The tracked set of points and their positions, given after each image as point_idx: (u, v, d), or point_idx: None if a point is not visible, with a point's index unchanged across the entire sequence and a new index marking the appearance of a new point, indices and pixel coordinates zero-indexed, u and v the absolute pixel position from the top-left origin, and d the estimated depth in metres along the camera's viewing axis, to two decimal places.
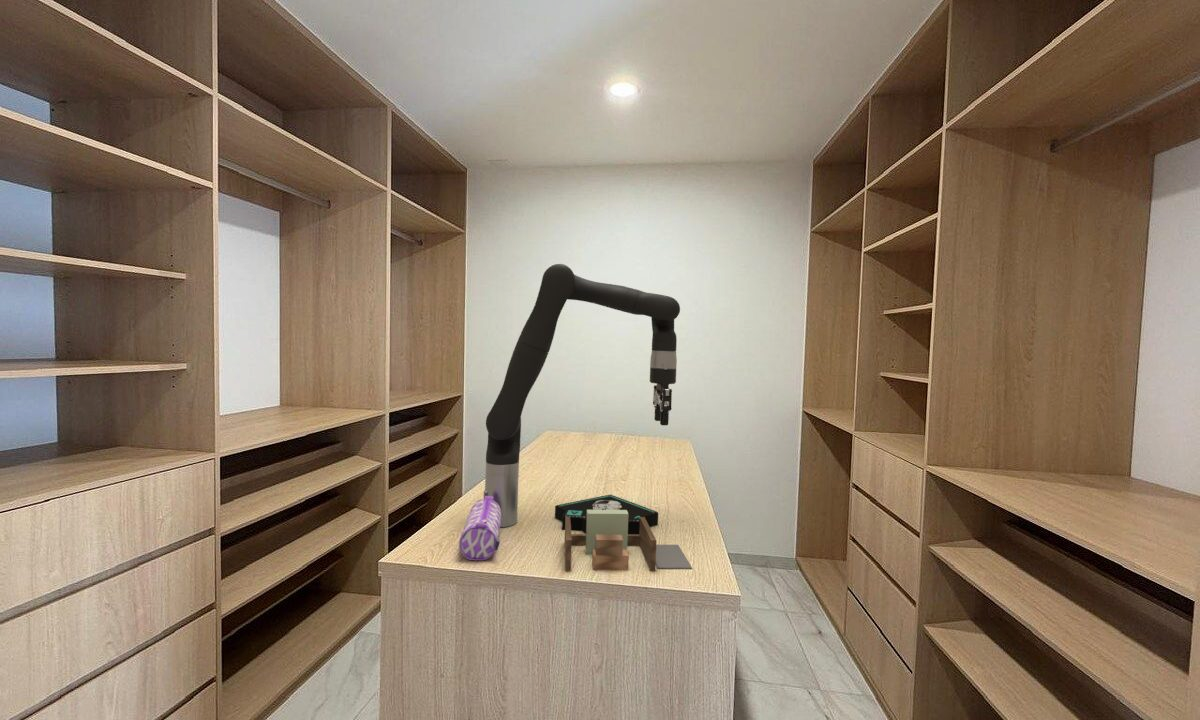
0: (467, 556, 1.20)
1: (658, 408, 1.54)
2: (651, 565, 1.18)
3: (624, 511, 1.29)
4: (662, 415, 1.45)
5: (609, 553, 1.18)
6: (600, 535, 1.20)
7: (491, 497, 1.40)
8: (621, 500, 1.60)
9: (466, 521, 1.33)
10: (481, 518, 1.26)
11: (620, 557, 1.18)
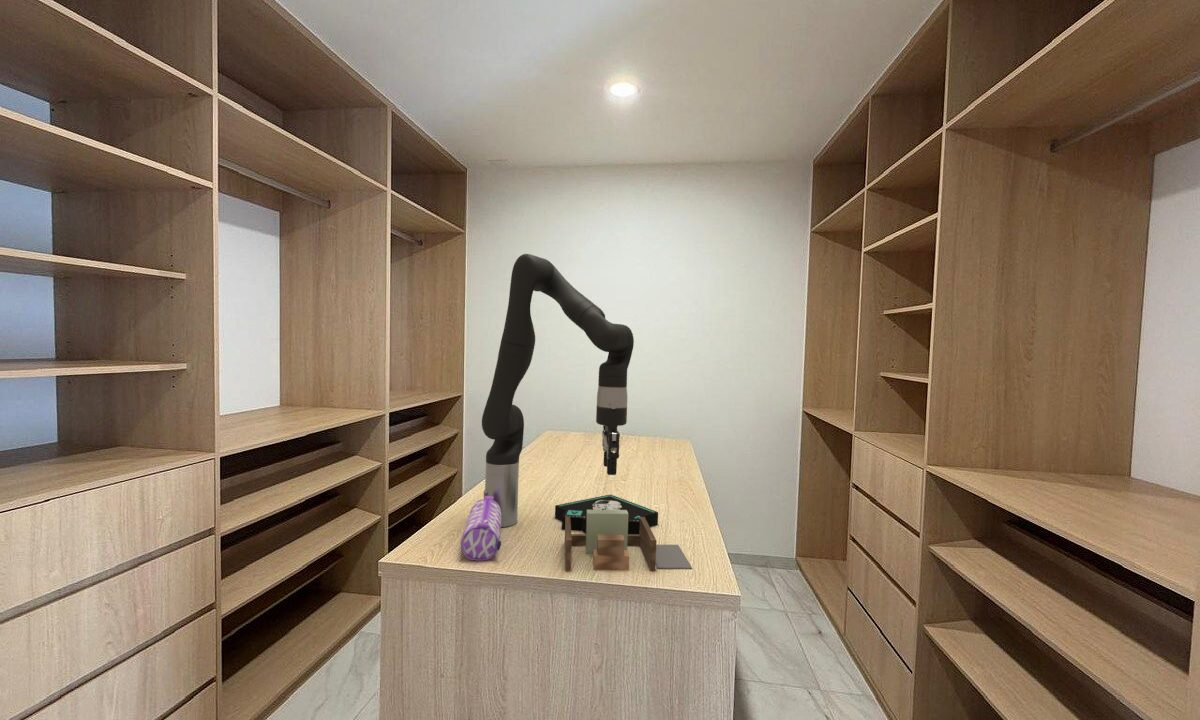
0: (469, 556, 1.20)
1: (607, 452, 1.32)
2: (651, 565, 1.18)
3: (624, 511, 1.29)
4: (609, 463, 1.23)
5: (611, 553, 1.18)
6: (602, 535, 1.20)
7: (491, 497, 1.40)
8: (621, 500, 1.60)
9: None
10: (482, 518, 1.26)
11: (621, 557, 1.18)
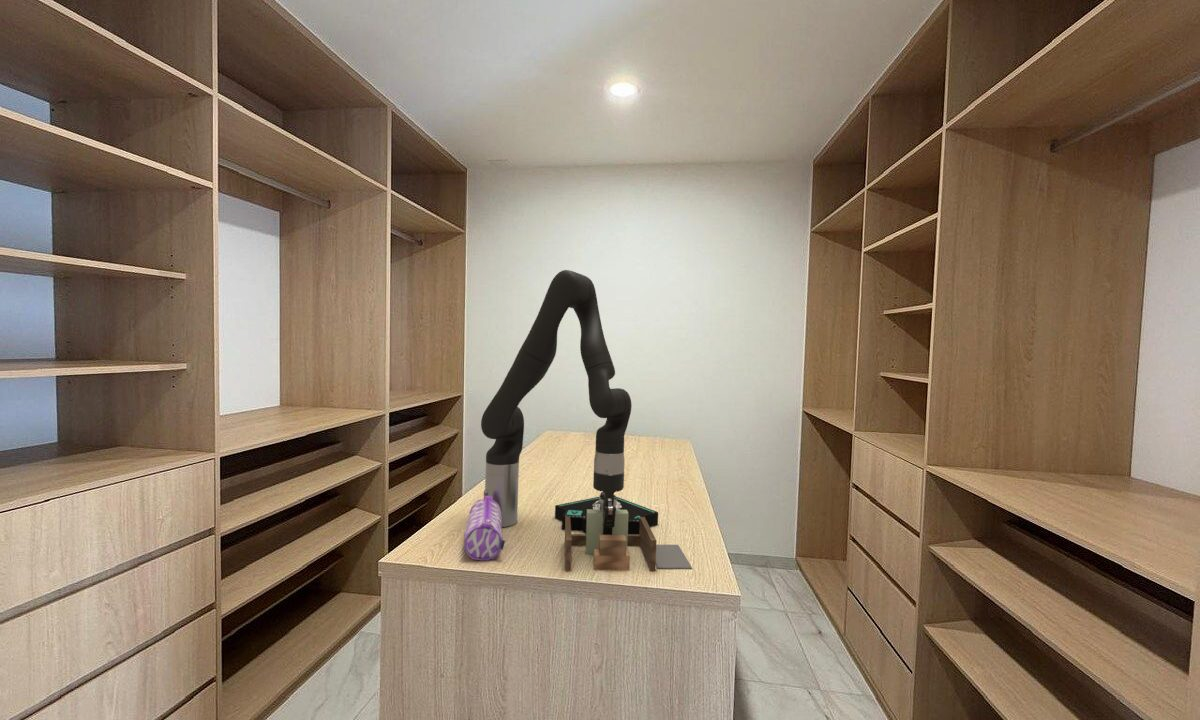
0: (472, 556, 1.20)
1: None
2: (651, 565, 1.18)
3: (624, 511, 1.29)
4: (605, 531, 1.26)
5: (613, 553, 1.18)
6: (604, 535, 1.20)
7: (490, 497, 1.40)
8: (621, 500, 1.60)
9: (467, 521, 1.33)
10: (484, 518, 1.26)
11: (621, 557, 1.18)
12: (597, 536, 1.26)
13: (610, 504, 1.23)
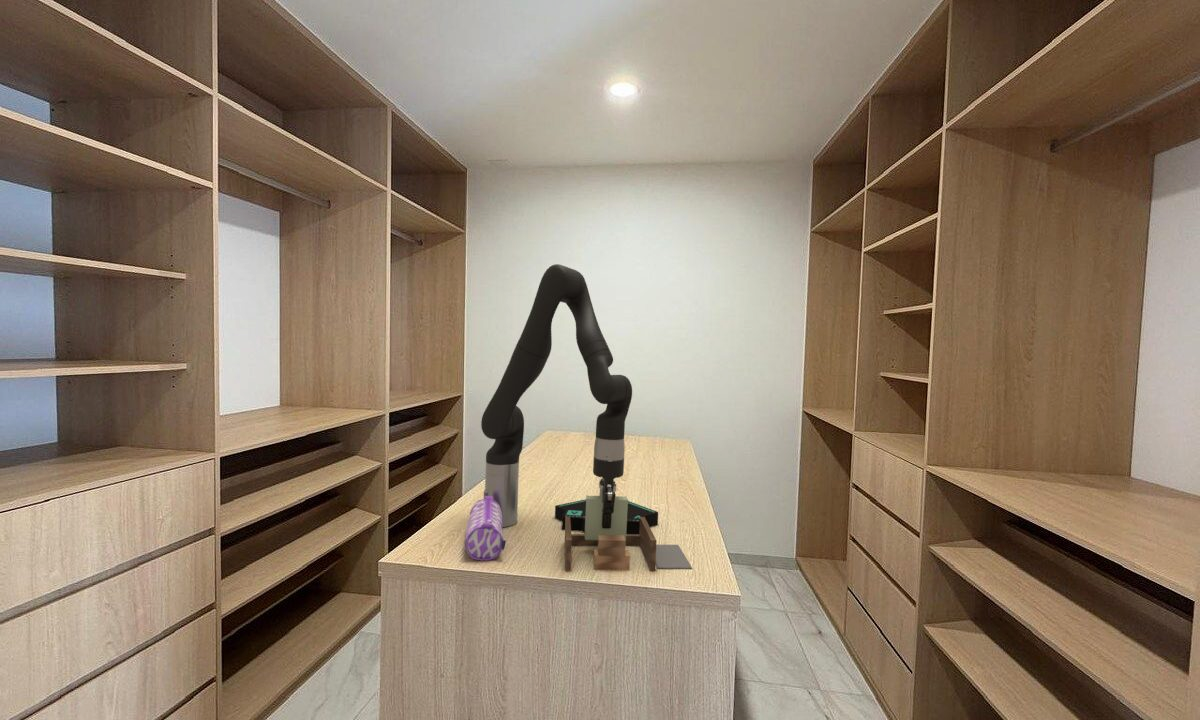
0: (473, 556, 1.20)
1: None
2: (651, 565, 1.18)
3: (624, 497, 1.29)
4: (604, 517, 1.26)
5: (612, 553, 1.18)
6: (603, 535, 1.20)
7: (491, 497, 1.40)
8: None
9: (468, 521, 1.33)
10: (485, 518, 1.26)
11: (621, 557, 1.18)
12: (596, 522, 1.26)
13: (610, 490, 1.23)
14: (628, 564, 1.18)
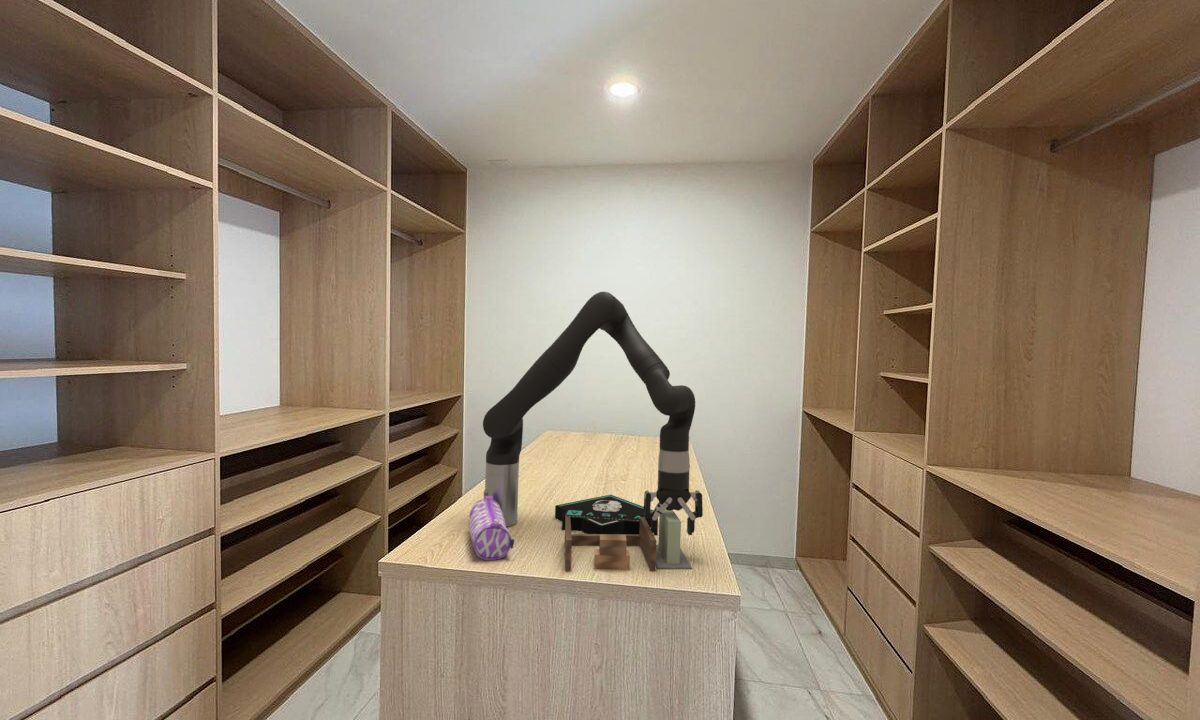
0: (482, 556, 1.20)
1: (688, 518, 1.27)
2: (651, 565, 1.18)
3: (675, 520, 1.22)
4: None
5: (613, 553, 1.18)
6: (604, 535, 1.21)
7: (491, 497, 1.40)
8: (621, 500, 1.60)
9: (470, 522, 1.33)
10: (491, 518, 1.27)
11: (621, 557, 1.18)
12: (661, 534, 1.29)
13: (652, 492, 1.26)
14: (628, 564, 1.18)
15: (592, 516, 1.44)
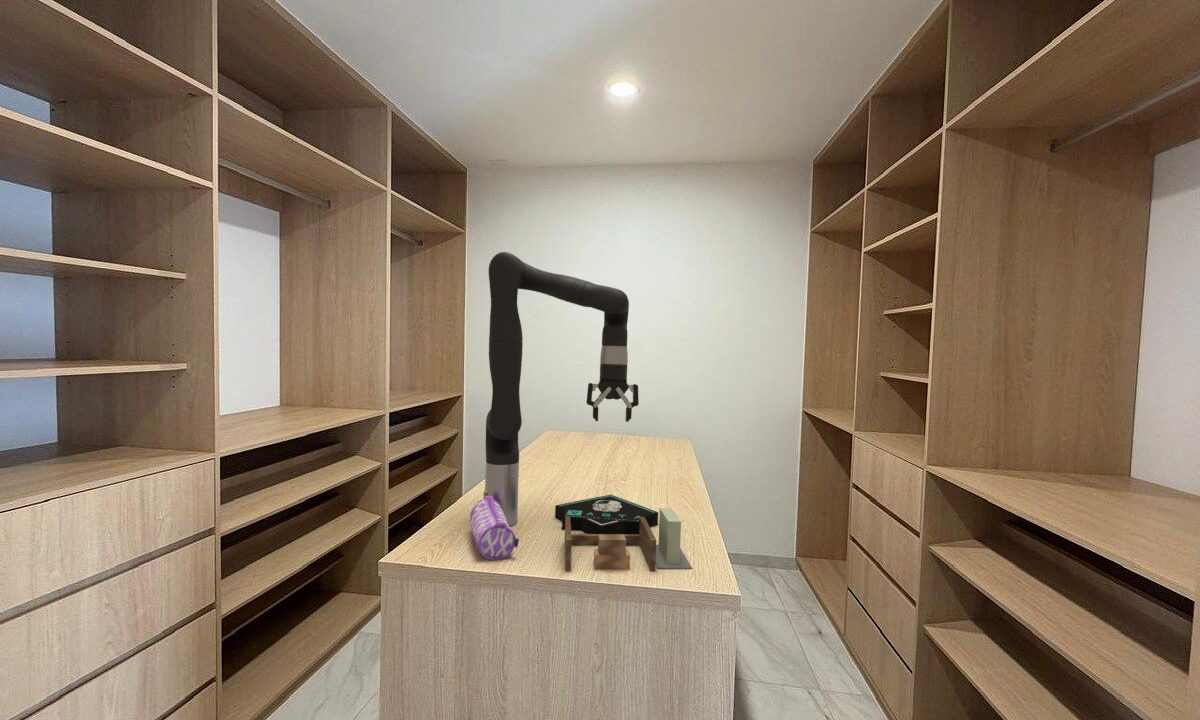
0: (486, 556, 1.20)
1: (626, 408, 1.44)
2: (651, 565, 1.18)
3: (675, 520, 1.22)
4: None
5: (612, 553, 1.18)
6: (603, 535, 1.20)
7: (491, 497, 1.40)
8: (621, 500, 1.60)
9: (472, 522, 1.33)
10: (494, 517, 1.27)
11: (622, 557, 1.18)
12: (661, 534, 1.29)
13: None
14: (628, 563, 1.18)
15: (592, 516, 1.44)
